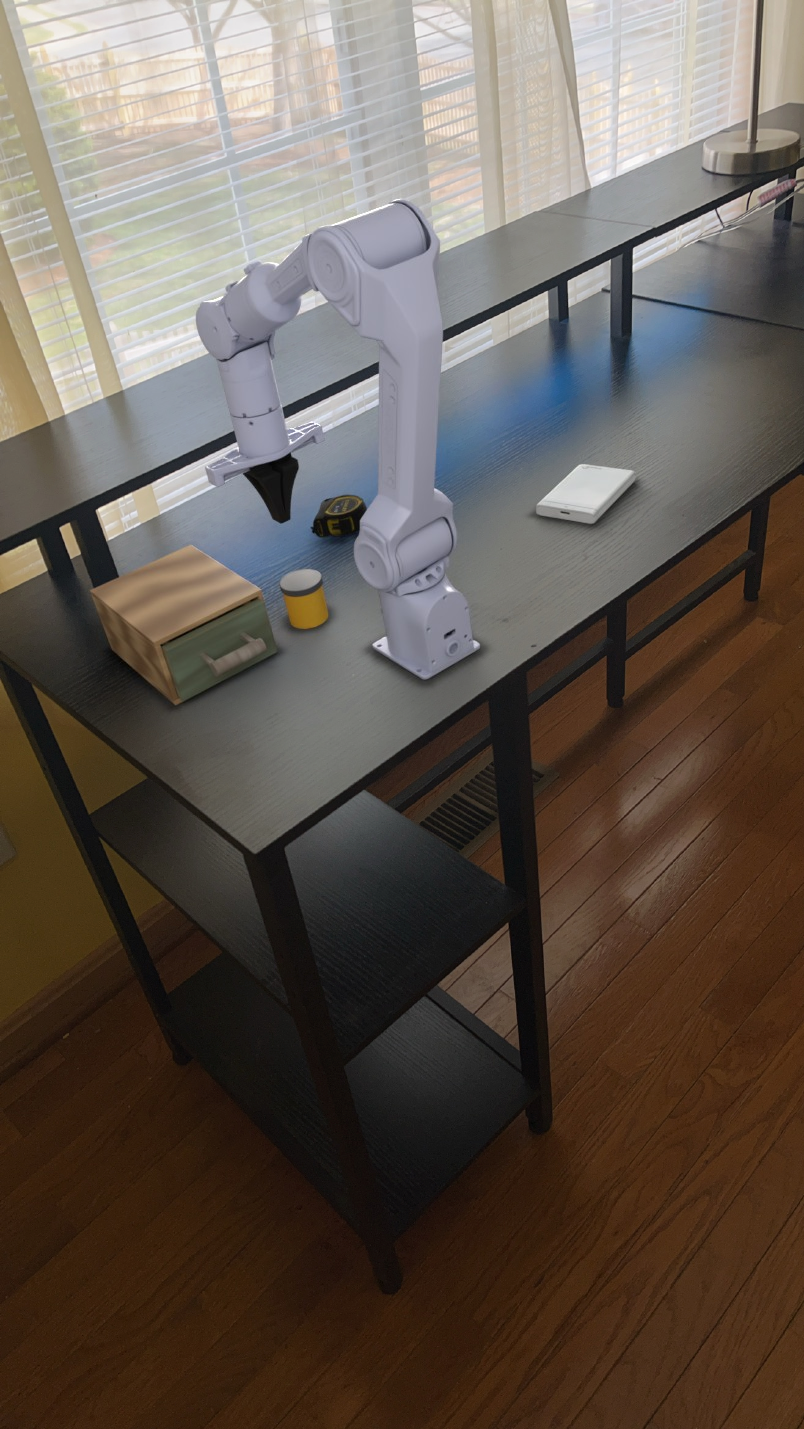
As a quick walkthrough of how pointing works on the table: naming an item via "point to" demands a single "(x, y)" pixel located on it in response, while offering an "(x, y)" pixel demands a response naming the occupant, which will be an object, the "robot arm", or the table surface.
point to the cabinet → (166, 608)
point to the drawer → (219, 648)
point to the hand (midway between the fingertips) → (281, 519)
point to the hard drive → (586, 493)
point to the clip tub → (304, 598)
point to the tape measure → (339, 516)
